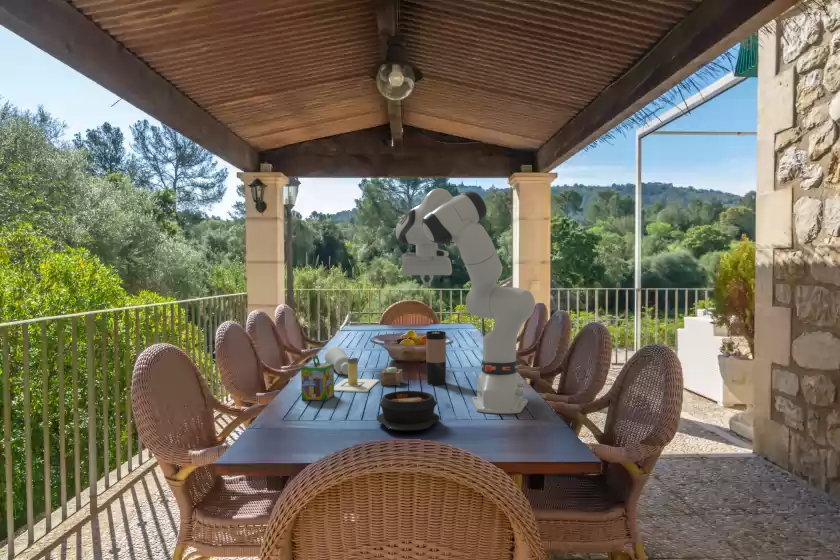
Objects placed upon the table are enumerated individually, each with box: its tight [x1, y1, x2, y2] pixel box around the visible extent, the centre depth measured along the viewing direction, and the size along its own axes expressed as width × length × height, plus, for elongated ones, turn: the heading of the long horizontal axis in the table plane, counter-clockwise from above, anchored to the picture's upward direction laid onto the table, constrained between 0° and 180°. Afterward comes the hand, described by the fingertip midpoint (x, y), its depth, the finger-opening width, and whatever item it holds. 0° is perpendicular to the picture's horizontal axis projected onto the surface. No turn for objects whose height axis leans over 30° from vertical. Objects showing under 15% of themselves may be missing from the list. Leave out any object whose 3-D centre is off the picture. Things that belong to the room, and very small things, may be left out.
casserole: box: [376, 390, 441, 432], centre depth 176 cm, size 25×19×8 cm
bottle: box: [324, 345, 350, 375], centre depth 258 cm, size 9×9×30 cm
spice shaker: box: [347, 357, 359, 385], centre depth 228 cm, size 4×4×10 cm
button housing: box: [380, 368, 403, 386], centre depth 232 cm, size 7×7×5 cm
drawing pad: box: [334, 378, 380, 393], centre depth 228 cm, size 20×14×1 cm
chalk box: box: [300, 354, 335, 402], centre depth 209 cm, size 9×9×15 cm
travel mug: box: [425, 330, 447, 386], centre depth 232 cm, size 8×8×20 cm
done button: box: [386, 366, 398, 372], centre depth 232 cm, size 4×4×6 cm
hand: (426, 286), depth 242 cm, fingers closed
